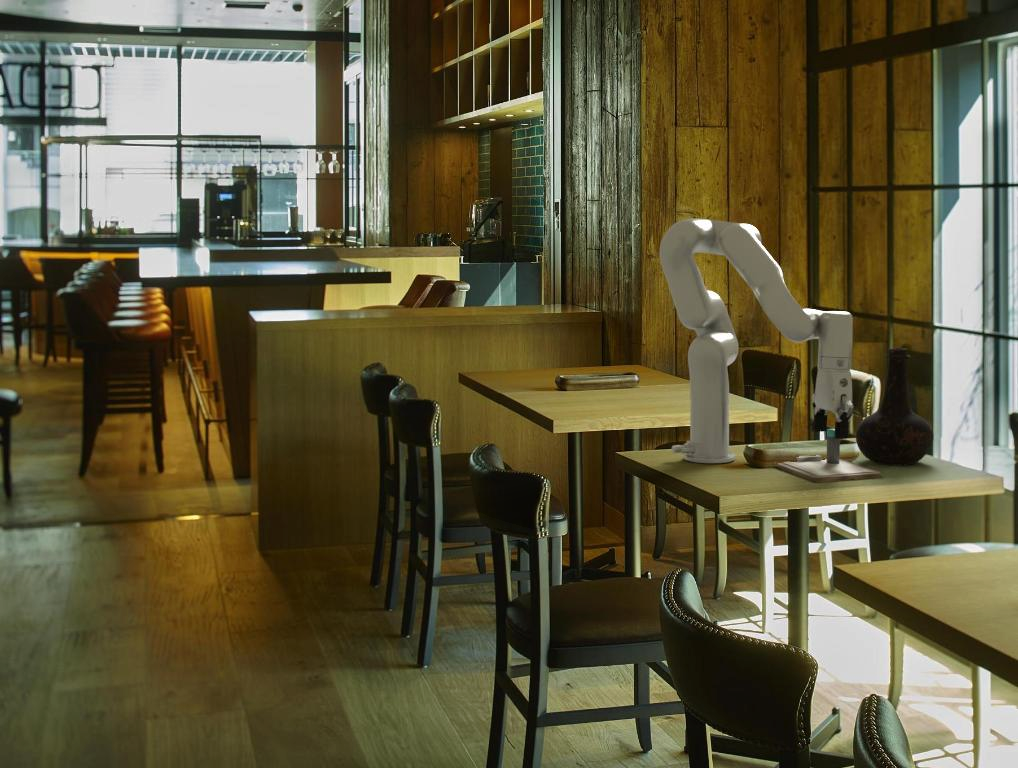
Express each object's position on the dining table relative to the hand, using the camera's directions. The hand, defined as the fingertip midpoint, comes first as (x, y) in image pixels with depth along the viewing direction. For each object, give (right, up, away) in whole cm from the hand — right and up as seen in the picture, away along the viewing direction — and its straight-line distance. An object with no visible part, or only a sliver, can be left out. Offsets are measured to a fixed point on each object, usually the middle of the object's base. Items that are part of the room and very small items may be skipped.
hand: (830, 434), depth 300 cm
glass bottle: (+17, -7, +6) cm, 19 cm away
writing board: (-2, -9, -4) cm, 10 cm away
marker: (+1, -7, 0) cm, 7 cm away
